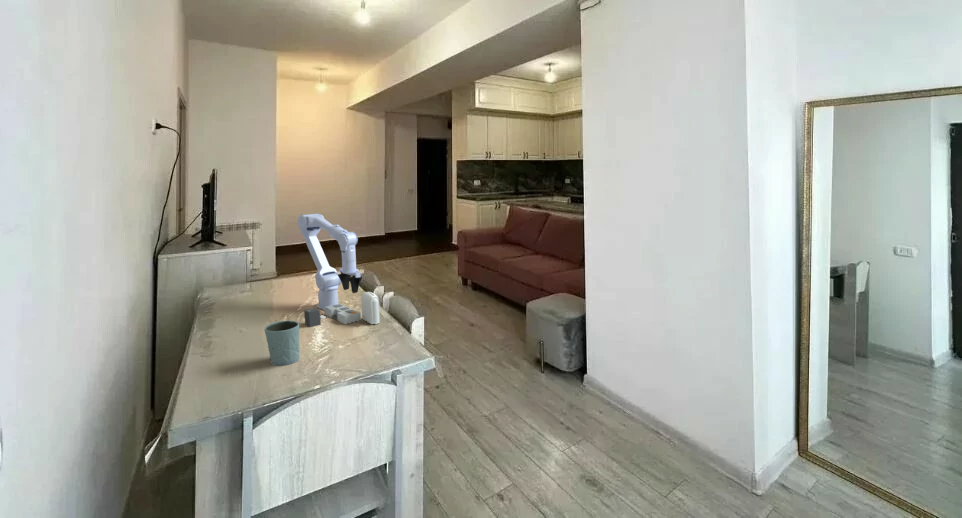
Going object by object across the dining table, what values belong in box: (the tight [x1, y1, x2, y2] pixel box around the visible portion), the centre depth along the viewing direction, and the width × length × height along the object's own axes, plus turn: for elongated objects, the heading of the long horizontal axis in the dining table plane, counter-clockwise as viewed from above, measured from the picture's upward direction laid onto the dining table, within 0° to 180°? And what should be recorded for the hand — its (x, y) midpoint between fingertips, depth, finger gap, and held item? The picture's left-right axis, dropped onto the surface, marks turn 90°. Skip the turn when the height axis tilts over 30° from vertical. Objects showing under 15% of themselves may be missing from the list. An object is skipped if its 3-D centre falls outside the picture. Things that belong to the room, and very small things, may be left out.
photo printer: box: [360, 291, 381, 325], centre depth 181 cm, size 10×4×12 cm, turn 40°
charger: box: [303, 307, 327, 328], centre depth 178 cm, size 4×7×6 cm, turn 135°
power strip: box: [324, 303, 362, 325], centre depth 186 cm, size 18×7×4 cm, turn 45°
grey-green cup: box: [263, 320, 300, 367], centre depth 142 cm, size 10×10×12 cm
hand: (350, 291), depth 191 cm, fingers open, 7 cm apart
